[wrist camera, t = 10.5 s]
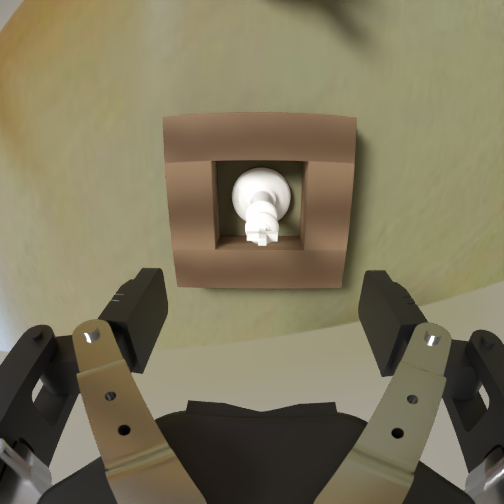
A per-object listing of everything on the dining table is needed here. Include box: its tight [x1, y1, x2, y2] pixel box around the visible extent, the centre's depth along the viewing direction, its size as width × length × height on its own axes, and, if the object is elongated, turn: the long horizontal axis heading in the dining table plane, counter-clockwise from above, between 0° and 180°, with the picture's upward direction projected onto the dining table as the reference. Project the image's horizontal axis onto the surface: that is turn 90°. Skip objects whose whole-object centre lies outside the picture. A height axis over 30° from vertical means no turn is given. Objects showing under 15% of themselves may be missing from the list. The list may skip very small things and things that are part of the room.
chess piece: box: [232, 167, 291, 246], centre depth 21 cm, size 5×5×10 cm
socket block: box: [163, 112, 357, 288], centre depth 24 cm, size 14×14×3 cm
